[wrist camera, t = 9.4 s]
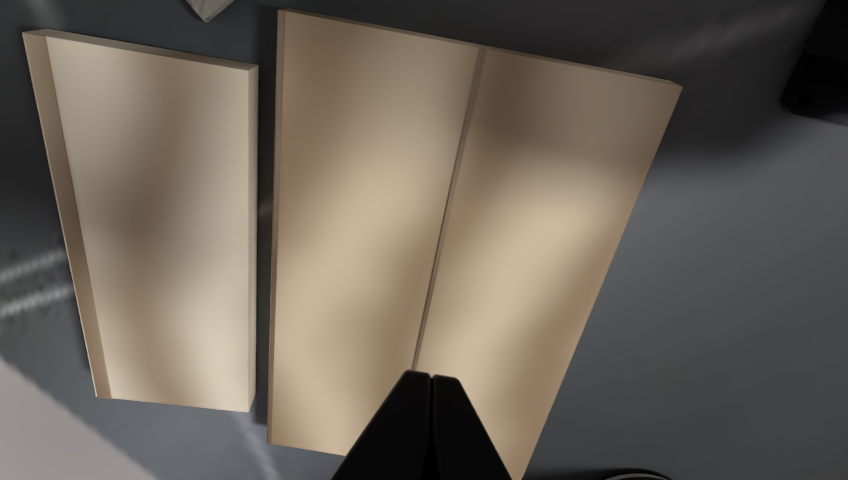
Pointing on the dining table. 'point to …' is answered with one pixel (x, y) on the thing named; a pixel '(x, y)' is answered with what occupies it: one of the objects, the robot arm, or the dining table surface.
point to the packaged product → (208, 7)
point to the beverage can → (636, 477)
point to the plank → (155, 212)
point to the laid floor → (440, 222)
